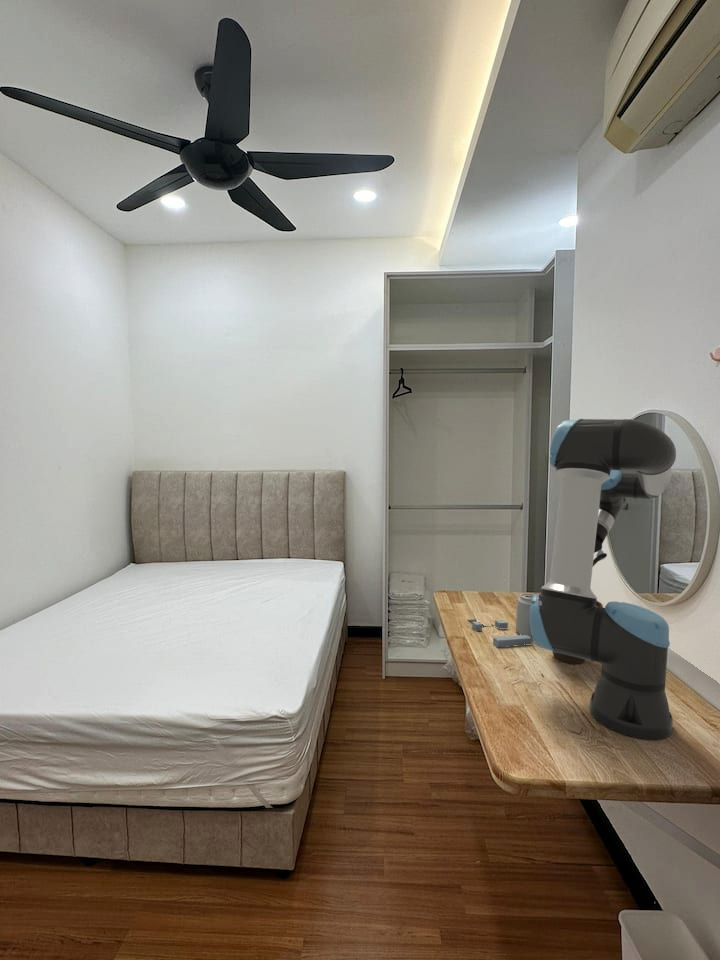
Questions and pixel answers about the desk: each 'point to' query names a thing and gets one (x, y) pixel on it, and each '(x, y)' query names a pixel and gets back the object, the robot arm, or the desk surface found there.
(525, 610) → the can
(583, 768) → the desk surface
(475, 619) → the trap square
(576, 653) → the robot arm
